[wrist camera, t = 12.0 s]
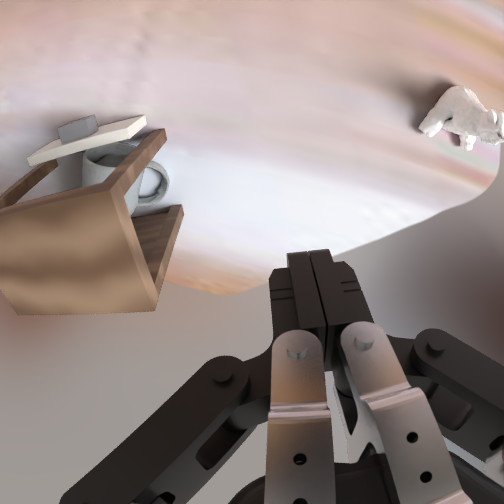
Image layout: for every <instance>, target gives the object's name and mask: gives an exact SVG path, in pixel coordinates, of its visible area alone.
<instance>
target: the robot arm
mask: <svg viewBox="0 0 504 504" xmlns="http://www.w3.org/2000/svg"><path fill="white" fill-rule="evenodd" d="M269 288H270V299H271V311H272V323H273V341H272V343H271V345H270V347H269V348H268V349H267V350H266V351H265V352H264V353H262V354H261V355H259V356H257V357H255V358H252V359H249V360H246V361H244V362H243V361H241V360H240V359H238V358H236V357H233V356H219V357H216V358H213V359H211V360H209V361H208V362H206V363H205V364H204V365H203V366H202V367H201V368H200V369H199V370H198V371H197V372H196V373H195V374H194V375H193V376H192V377H191V378H190V379H189V380H188V381H187V382H186V383H185V384H184V385H183V386H182V387H180V388H179V389H178V391H176V392H175V393H174V394H173V395H172V396H171V397H170V398H169V399H168V400H167V401H166V402H165V403H164V404H163V405H162V406H161V407H160V408H159V409H158V410H157V411H155V412H154V413H153V414H152V415H151V416H150V417H149V418H148V419H147V420H146V421H145V422H144V423H143V424H142V425H141V426H139V427H138V428H137V429H136V430H135V431H134V432H133V433H132V434H131V435H130V436H129V437H128V438H126V440H124V441H123V442H122V443H121V444H120V445H119V446H118V447H117V448H116V449H114V450H113V451H112V452H111V453H110V454H109V455H108V456H107V457H105V458H104V459H103V460H102V461H101V462H100V463H99V464H98V465H97V466H95V467H94V468H93V469H92V470H91V471H90V472H89V473H87V474H86V475H85V476H84V477H83V478H82V479H80V480H79V481H78V482H77V483H76V484H75V485H74V486H73V487H71V488H70V489H69V490H68V491H67V492H66V493H64V494H63V496H62V497H61V500H60V503H59V504H186V503H187V502H188V501H189V500H190V499H191V498H192V497H193V496H194V495H195V494H196V493H197V492H198V491H199V490H200V489H201V488H202V487H203V486H204V485H205V484H206V483H207V482H208V481H209V480H210V479H211V477H212V476H213V475H214V474H215V473H216V472H217V471H218V470H219V469H220V468H221V467H222V466H223V465H224V464H225V462H226V461H227V460H228V459H229V458H230V457H231V456H232V455H233V454H234V452H235V451H236V450H237V449H238V448H239V447H240V445H242V443H243V442H244V441H245V440H246V439H247V438H248V436H249V435H250V434H251V433H252V432H253V431H254V429H255V428H256V427H257V425H258V424H261V423H264V422H266V421H268V430H267V455H266V475H265V476H262V477H260V478H258V479H256V480H255V481H252V482H251V483H249V484H248V485H247V486H245V487H244V488H243V489H241V490H240V491H239V492H238V493H237V494H236V495H235V496H234V497H233V498H232V500H231V501H230V502H229V503H228V504H504V366H502V365H501V364H499V363H497V362H496V361H494V360H492V359H491V358H489V357H487V356H486V355H484V354H482V353H481V352H479V351H477V350H476V349H474V348H472V347H471V346H469V345H467V344H465V343H464V342H462V341H460V340H458V339H457V338H455V337H453V336H452V335H450V334H448V333H447V332H445V331H442V330H440V329H426V330H424V331H422V332H420V333H419V334H418V335H417V337H416V338H415V339H406V338H396V337H392V336H389V335H387V334H386V333H385V332H384V330H383V329H382V328H381V327H379V326H378V325H376V324H375V323H374V321H373V318H372V316H371V313H370V311H369V308H368V305H367V303H366V300H365V298H364V295H363V292H362V291H361V287H360V285H359V282H358V280H357V277H356V275H355V272H354V270H353V269H352V268H351V267H350V266H349V265H348V264H347V263H345V262H344V261H342V262H333V259H332V256H331V254H330V251H329V249H322V250H313V251H308V252H307V251H304V252H295V253H287V268H279V269H274V270H273V272H272V274H271V276H270V278H269ZM326 371H333V376H334V386H333V390H334V395H335V398H336V402H337V406H338V409H339V413H340V416H341V420H342V423H343V427H344V431H345V434H346V439H347V454H348V460H349V463H334V452H333V439H332V438H333V437H332V425H331V414H330V409H329V408H328V406H327V397H326V385H325V374H324V372H326ZM442 435H443V436H444V437H446V438H447V439H449V440H450V441H452V442H453V443H455V444H456V445H458V446H460V447H461V448H463V449H464V450H466V451H467V452H469V453H470V454H472V455H474V456H475V457H477V458H478V459H480V460H481V461H483V462H485V470H484V474H483V473H482V472H480V471H479V470H478V469H476V468H474V467H473V466H472V465H470V464H469V463H467V462H466V461H465V460H463V459H462V458H460V457H459V456H457V455H456V454H454V453H452V452H450V451H448V449H447V447H446V444H445V441H444V439H443V437H442Z"/></svg>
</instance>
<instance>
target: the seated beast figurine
mask: <svg viewBox="0 0 504 504" xmlns="http://www.w3.org/2000/svg"><path fill="white" fill-rule="evenodd" d="M448 118H452V120H448ZM441 128H443V129H445V130H446V131H451V132H453V133H454V134H458V135H459V137H460V144H461V148H462V149H463V150H466V151H469V150H472V147H473V143H474V142H475V139H476V137H475V136H479V137H480V138H481V141H482V142H483V143H489V144H493V145H494V146H495V145H497V144H498V143H501V142H504V113H503V112H502V111H497V110H493V109H492V108H490V110H489V111H488V110H486V109H485V108H484V106H483V105H482V104H481V103H480V102H479V100H478V98H477V97H476V95H475V93H473V92H472V91H471V90H470V88H467V87H464V86H460V85H458V86H453V87H451V88H450V89H447V91H446V92H445V93H444V94H443V96H441V97H440V99H439V100H438V102H437V103H435V106H434V107H433V108H432V109H431V110H429V113H428V114H427V116H426V117H425V118H424V120H423V121H422V123H421V124H420V126H419V129H420V130H421V131H422V132H423V133H425V134H426V135H427V136H429V137H432V136H434V135H435V134H436V133H437V132H438V131H439V130H440V129H441Z"/></svg>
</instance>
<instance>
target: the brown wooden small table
mask: <svg viewBox="0 0 504 504" xmlns="http://www.w3.org/2000/svg"><path fill="white" fill-rule="evenodd" d="M166 141H167V137H166V133H165V129H160V130H155V131H152V132H151V133H150V134H149V135H148V136H147V137H146V138H145V139H144V140H143V141H142V142H141V143H140V144H139V145H138V146H137V147H136V148H135V149H134V150H133V151H132V152H131V153H130V154H129V155H128V156H127V157H126V158H125V159H124V160H123V161H122V162H121V163H120V164H119V165H118V166H117V167H116V168H115V169H114V171H113V172H112V173H111V174H110V175H109V176H108V177H107V178H106V179H105V180H104V181H103V182H102V183H98V184H94V185H89V186H85V187H81V188H76V189H72V190H68V191H64V192H60V193H56V194H52V195H48V196H44V197H40V198H37V199H33V200H29V201H26V202H22V203H19V204H15V203H16V202H17V201H18V200H19V199H20V198H21V197H22V196H23V195H24V194H26V193H27V192H28V191H29V190H30V189H31V188H32V187H34V186H35V185H36V184H37V183H38V182H39V181H41V180H42V179H43V178H44V177H45V176H46V175H48V174H49V173H50V172H51V171H53V170H54V169H55V168H56V167H58V164H57V161H56V159H53V160H49V161H46V162H43V163H41V164H39V165H38V166H37V167H35V168H34V169H33V170H32V171H30V172H29V173H28V174H26V175H25V176H24V177H23V178H21V179H20V180H19V181H18V182H16V183H15V184H14V185H13V186H11V187H10V188H9V189H8V190H7V191H5V192H4V193H3V194H2V195H1V196H0V289H1V290H2V292H3V294H4V295H5V297H6V298H7V300H8V301H9V303H10V305H11V306H12V308H13V309H14V311H15V312H16V314H17V315H75V314H76V315H78V314H106V313H129V312H149V311H155V308H156V305H157V301H158V298H159V294H160V291H161V287H162V284H163V280H164V277H165V274H166V270H167V267H168V264H169V260H170V257H171V254H172V251H173V247H174V244H175V241H176V238H177V235H178V232H179V228H180V225H181V222H182V219H183V216H184V212H183V208H182V205H175V206H171V207H170V209H169V212H168V213H161V214H154V215H148V216H141V217H134V218H131V217H130V214H129V211H128V208H127V205H126V201H125V198H124V196H125V194H126V193H127V191H128V190H129V189H130V187H131V186H132V185H133V183H134V182H135V181H136V179H137V178H138V177H139V175H140V174H141V173H142V171H143V170H144V169H145V167H146V166H147V165H148V163H149V162H150V161H151V160H152V158H153V157H154V156H155V154H156V153H157V152H158V151H159V149H160V148H161V147H162V146H163V144H164V143H165V142H166ZM13 204H15V205H13Z"/></svg>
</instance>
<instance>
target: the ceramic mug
mask: <svg viewBox="0 0 504 504" xmlns="http://www.w3.org/2000/svg"><path fill="white" fill-rule="evenodd" d="M135 148H136V147H135V146H132V145H129V144H126V143H120V142H113V143H109V144H105V145H102V146H98V147H94V148H90V149H87V150H85V152H84V154H83V169H82V187H85V186H89V185H94V184H98V183H102V182H103V181H104V180H105V179H106V178H107V177H108V176H109V175H110V174H111V173H112V172H113V171H114V169H115V168H116V167H117V166H118V165H119V164H120V163H121V162H122V161H123V160H124V159H125V158H126V157H127V156H128V155H129V154H130V153H131V152H132V151H133V150H134V149H135ZM146 167H150V168H152V169H155V170H157V171H159V172H161V174H162V175H163V180H162V184H161V186H160V188H159V189H158V193H157V194H155V195H154V196H152V197H147V198H138V197H139V190H140V186H141V182H142V177H143V173H144V170H143V171H142V173H141V174H140V175H139V177H138V178H137V179H136V181H135V182H134V183H133V185H132V186H131V187H130V189H129V190H128V191H127V193H126V194H125V196H124V198H125V201H126V205H127V208H128V211H129V214H130V216H131V215H132V214H133V212H134V210H135V207H136V206H149V205H152V204H155V203H157V202H158V201H160V200H161V199H162V198H163V197H164V196H165V194H166V193H167V190H168V187H169V177H168V175H167V172H166V170H165V169H164V168H163V167H162V166H161V165H160V164H158V163H156V162H153V161H150V162H149V163H148V165H147V166H146ZM146 167H145V168H146Z"/></svg>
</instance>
